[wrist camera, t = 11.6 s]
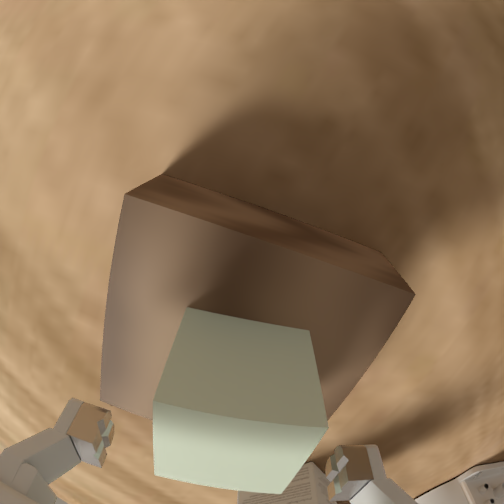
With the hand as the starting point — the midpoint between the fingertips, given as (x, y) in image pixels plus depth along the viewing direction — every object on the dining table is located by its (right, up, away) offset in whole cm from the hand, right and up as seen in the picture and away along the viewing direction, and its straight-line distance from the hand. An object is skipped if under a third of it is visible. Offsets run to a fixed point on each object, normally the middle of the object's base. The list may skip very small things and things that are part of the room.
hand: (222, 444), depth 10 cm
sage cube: (0, +2, +4) cm, 4 cm away
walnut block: (0, +3, +9) cm, 9 cm away
